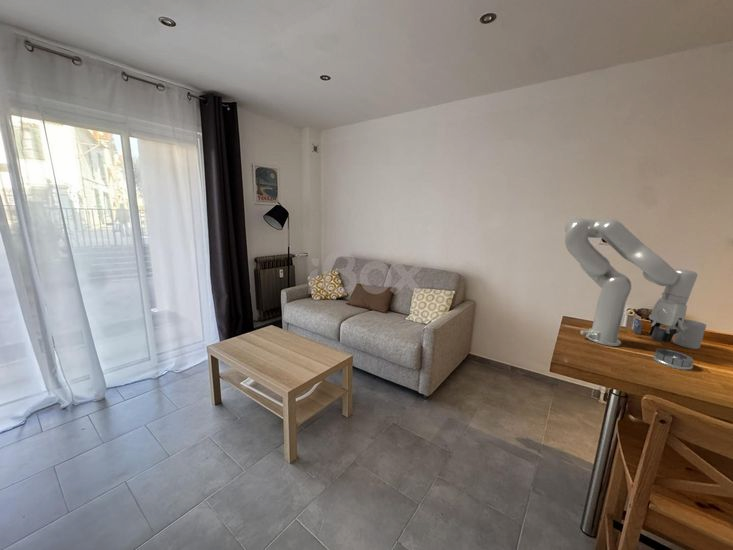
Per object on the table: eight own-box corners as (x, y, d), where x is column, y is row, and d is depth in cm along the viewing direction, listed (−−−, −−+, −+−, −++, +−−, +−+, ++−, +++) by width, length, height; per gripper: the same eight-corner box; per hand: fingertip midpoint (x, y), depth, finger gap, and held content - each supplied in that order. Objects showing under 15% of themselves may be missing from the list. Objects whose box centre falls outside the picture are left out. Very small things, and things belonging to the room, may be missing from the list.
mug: (678, 339, 140) (684, 318, 138) (703, 347, 133) (710, 324, 130) (664, 343, 136) (671, 320, 133) (690, 351, 128) (697, 327, 126)
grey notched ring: (670, 369, 111) (673, 360, 111) (645, 355, 122) (647, 347, 121) (701, 371, 111) (703, 362, 110) (672, 357, 122) (675, 349, 121)
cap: (658, 341, 124) (662, 330, 123) (647, 336, 129) (651, 325, 128) (671, 343, 124) (675, 331, 123) (659, 337, 129) (663, 326, 128)
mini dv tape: (630, 329, 152) (633, 318, 151) (634, 329, 152) (637, 318, 150) (636, 334, 145) (638, 323, 144) (640, 335, 144) (643, 323, 143)
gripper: (647, 291, 131) (634, 329, 135) (685, 304, 114) (669, 347, 118) (664, 293, 131) (650, 331, 135) (705, 306, 114) (688, 349, 118)
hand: (659, 338), depth 127 cm, fingers closed on cap, 5 cm apart
